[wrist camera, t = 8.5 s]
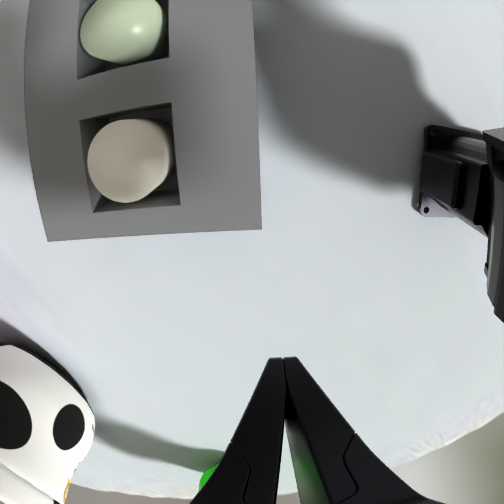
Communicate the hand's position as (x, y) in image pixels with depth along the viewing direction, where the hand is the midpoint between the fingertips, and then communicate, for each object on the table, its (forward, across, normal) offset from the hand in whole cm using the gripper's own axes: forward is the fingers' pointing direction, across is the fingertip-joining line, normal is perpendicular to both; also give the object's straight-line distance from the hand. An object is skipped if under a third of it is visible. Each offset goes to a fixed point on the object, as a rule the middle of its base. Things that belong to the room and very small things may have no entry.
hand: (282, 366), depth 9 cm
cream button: (+11, +7, -5) cm, 15 cm away
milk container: (+12, +28, +19) cm, 36 cm away
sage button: (+11, +7, -13) cm, 19 cm away
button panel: (+12, +7, -13) cm, 19 cm away
